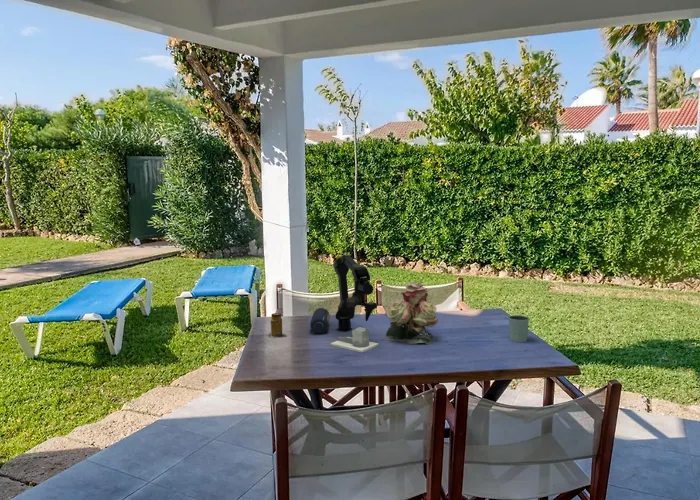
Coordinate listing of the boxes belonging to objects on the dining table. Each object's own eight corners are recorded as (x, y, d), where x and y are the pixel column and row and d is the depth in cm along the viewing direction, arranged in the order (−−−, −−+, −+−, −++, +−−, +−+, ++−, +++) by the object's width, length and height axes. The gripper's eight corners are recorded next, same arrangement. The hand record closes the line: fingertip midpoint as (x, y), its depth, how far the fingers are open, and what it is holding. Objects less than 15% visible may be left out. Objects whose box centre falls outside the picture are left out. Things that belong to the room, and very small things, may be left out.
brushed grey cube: (352, 341, 271) (352, 329, 270) (359, 338, 275) (359, 327, 274) (361, 343, 267) (361, 331, 266) (369, 340, 272) (369, 329, 271)
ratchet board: (330, 345, 275) (330, 333, 274) (347, 338, 285) (347, 327, 285) (361, 352, 262) (361, 340, 261) (378, 345, 273) (378, 334, 272)
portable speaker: (327, 335, 292) (327, 317, 290) (309, 335, 292) (309, 317, 291) (330, 322, 317) (330, 306, 315) (313, 322, 317) (313, 306, 315)
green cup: (529, 343, 274) (530, 320, 272) (508, 342, 276) (509, 319, 274) (526, 337, 284) (527, 315, 282) (507, 336, 286) (507, 314, 284)
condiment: (270, 334, 295) (269, 312, 293) (285, 332, 297) (284, 311, 295) (271, 338, 288) (270, 316, 286) (287, 336, 290) (286, 315, 288)
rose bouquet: (380, 342, 279) (380, 285, 274) (401, 327, 304) (401, 275, 300) (428, 349, 267) (428, 290, 263) (445, 333, 293) (446, 279, 288)
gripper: (336, 290, 279) (336, 319, 281) (364, 296, 267) (364, 326, 270) (349, 286, 287) (349, 314, 290) (377, 292, 276) (377, 321, 278)
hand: (359, 319), depth 282 cm, fingers open, 9 cm apart
